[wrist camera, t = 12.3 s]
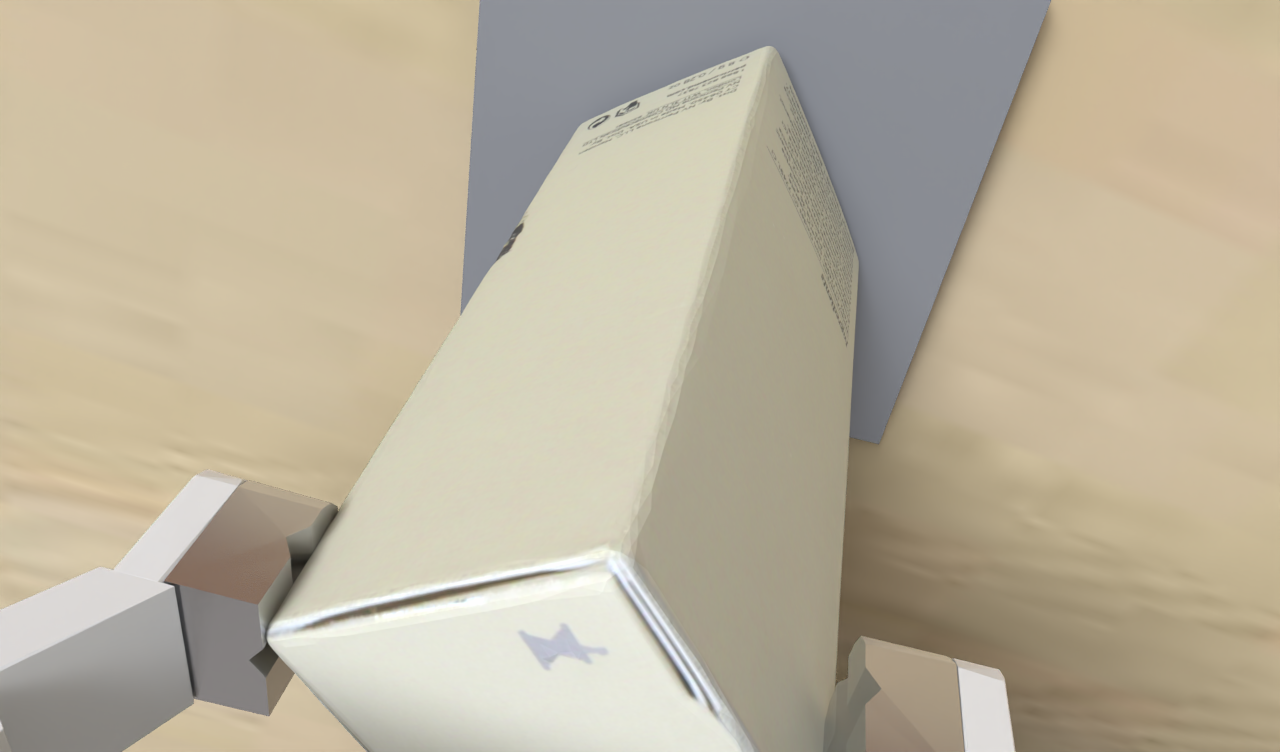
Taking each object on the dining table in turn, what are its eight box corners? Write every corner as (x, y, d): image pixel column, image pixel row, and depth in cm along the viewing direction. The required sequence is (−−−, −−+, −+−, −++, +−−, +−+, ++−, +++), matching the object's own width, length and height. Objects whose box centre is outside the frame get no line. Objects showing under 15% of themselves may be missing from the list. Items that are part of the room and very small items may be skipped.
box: (574, 117, 20) (213, 614, 10) (783, 33, 18) (610, 537, 8) (682, 332, 22) (486, 911, 12) (877, 277, 20) (837, 906, 10)
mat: (1042, -16, 18) (1051, -2, 17) (878, 418, 24) (878, 444, 23) (503, -129, 18) (487, -121, 18) (472, 321, 24) (458, 343, 23)
